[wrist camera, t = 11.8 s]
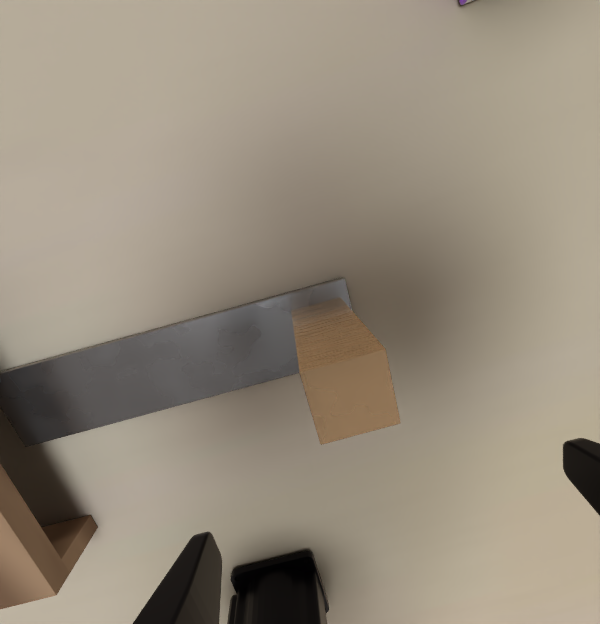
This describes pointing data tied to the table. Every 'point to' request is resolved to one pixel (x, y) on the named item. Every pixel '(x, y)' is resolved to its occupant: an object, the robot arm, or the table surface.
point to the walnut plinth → (35, 549)
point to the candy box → (464, 1)
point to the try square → (214, 368)
